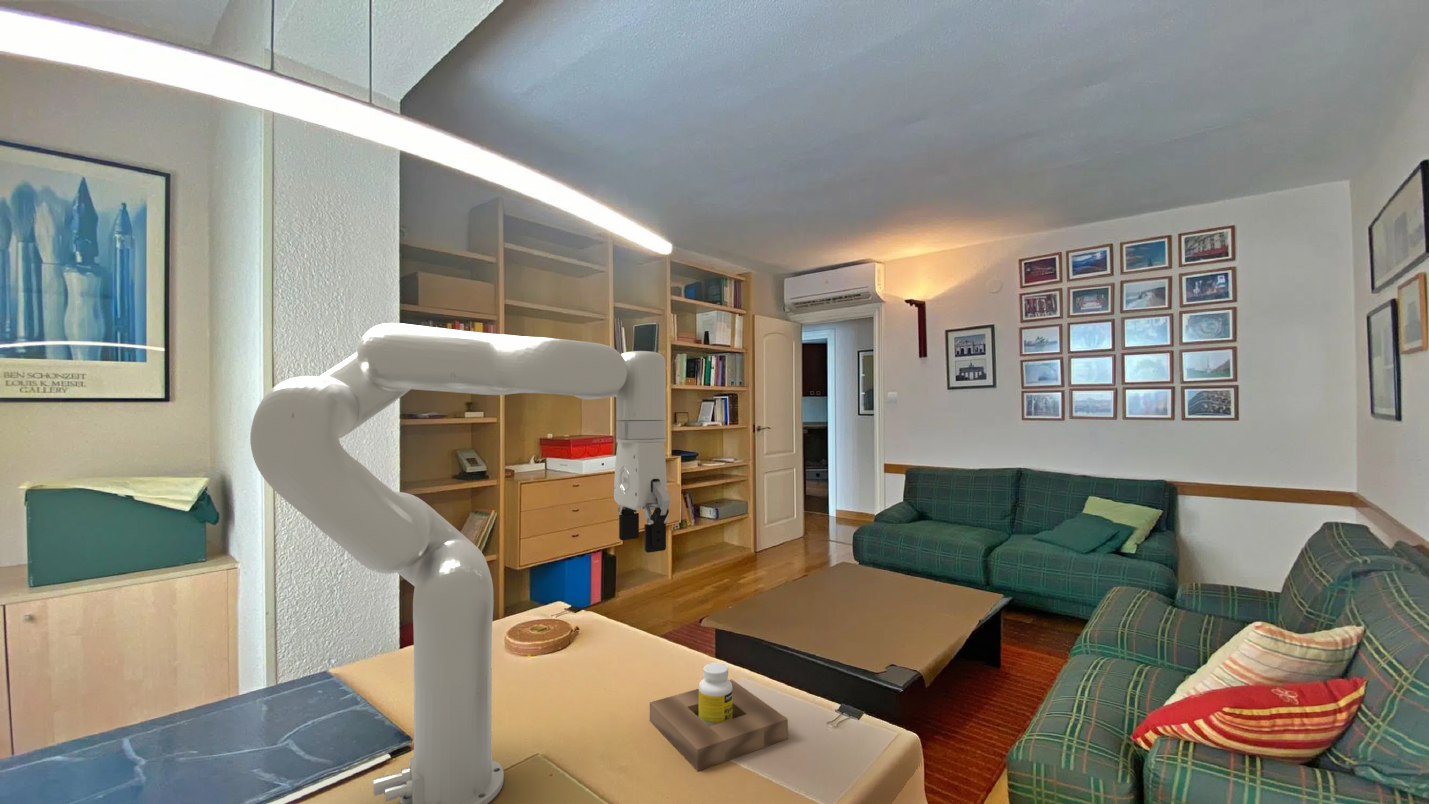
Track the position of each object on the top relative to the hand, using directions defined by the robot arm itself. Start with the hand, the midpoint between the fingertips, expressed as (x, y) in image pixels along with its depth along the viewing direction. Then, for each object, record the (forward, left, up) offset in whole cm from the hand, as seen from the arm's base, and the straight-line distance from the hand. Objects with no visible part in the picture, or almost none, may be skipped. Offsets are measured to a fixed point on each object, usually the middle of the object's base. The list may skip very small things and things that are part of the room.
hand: (641, 544), depth 90 cm
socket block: (+12, -2, -30) cm, 33 cm away
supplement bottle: (+12, -2, -31) cm, 33 cm away
